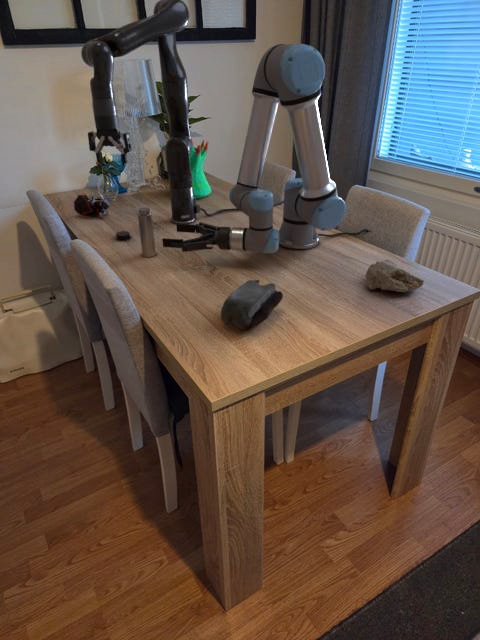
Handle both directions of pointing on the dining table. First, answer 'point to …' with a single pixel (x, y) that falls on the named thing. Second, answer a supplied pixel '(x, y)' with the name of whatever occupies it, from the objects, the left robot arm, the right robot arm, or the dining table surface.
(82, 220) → the dining table surface
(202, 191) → the toy
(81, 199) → the toy
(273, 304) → the dark grey soft lump
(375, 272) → the artifact
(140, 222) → the brown long cylinder
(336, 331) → the dining table surface
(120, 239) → the lid
